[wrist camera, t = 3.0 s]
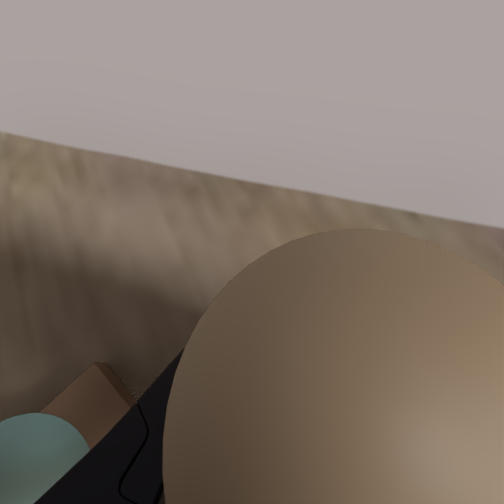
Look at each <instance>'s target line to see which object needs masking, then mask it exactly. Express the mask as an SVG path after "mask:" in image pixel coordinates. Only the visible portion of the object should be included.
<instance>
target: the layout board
mask: <svg viewBox="0 0 504 504" xmlns="http://www.w3.org/2000/svg"><path fill="white" fill-rule="evenodd" d="M135 403H137V400H136V399H135V398H134V397H133V396H132V394H131V393H130V392H129V391H128V389H127V388H126V387H125V386H124V385H123V383H122V382H121V381H120V380H119V379H118V377H117V376H116V375H115V374H114V373H113V371H112V370H111V369H110V368H109V366H108V365H107V364H106V363H96V362H94V363H92V364H91V365H90V366H89V367H88V368H87V369H86V370H85V371H84V372H83V373H82V374H81V375H79V376H78V377H77V378H76V379H75V380H74V381H73V382H72V383H71V384H70V385H69V386H67V387H66V388H65V389H64V390H63V391H62V392H61V393H60V394H59V395H58V396H57V397H56V398H54V399H53V400H52V401H51V402H50V403H49V404H48V405H47V406H46V407H45V408H44V409H42V410H41V411H40V412H39V413H38V412H37V413H27V414H22V415H18V416H14V417H11V418H9V419H6V420H3V421H1V422H0V504H34V503H35V502H36V501H37V500H38V499H39V498H40V497H41V496H42V495H43V494H44V493H45V492H46V491H47V490H49V489H50V488H51V487H52V486H53V485H54V484H55V483H56V482H57V481H58V480H59V479H60V478H61V477H62V476H63V475H64V474H66V473H67V472H68V471H69V470H70V469H71V468H72V467H73V466H74V465H75V464H76V463H77V462H78V461H79V460H80V459H82V458H83V457H84V456H85V455H86V454H87V453H88V452H89V451H90V450H91V449H92V448H93V447H94V446H95V445H96V444H97V443H98V442H99V441H100V440H101V439H102V438H103V437H104V436H105V435H106V434H107V433H108V432H109V431H110V430H111V429H112V428H113V427H114V426H115V425H116V423H117V422H118V421H119V420H120V419H121V418H122V417H123V416H124V415H125V414H126V413H127V412H128V410H129V409H130V408H131V407H132V406H133V405H134V404H135Z"/></svg>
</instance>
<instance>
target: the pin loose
mask: <svg viewBox="0 0 504 504" xmlns="http://www.w3.org/2000/svg"><path fill="white" fill-rule="evenodd" d="M162 473H163V484H164V494H165V504H504V285H503V284H501V283H500V282H499V281H498V280H497V279H495V278H494V277H493V276H491V275H490V274H488V273H487V272H485V271H484V270H482V269H481V268H479V267H478V266H476V265H475V264H473V263H472V262H470V261H468V260H466V259H465V258H463V257H461V256H459V255H457V254H455V253H453V252H452V251H450V250H447V249H445V248H443V247H440V246H438V245H435V244H433V243H430V242H428V241H425V240H422V239H418V238H415V237H412V236H408V235H405V234H400V233H394V232H388V231H383V230H371V229H345V230H332V231H327V232H322V233H317V234H312V235H309V236H306V237H303V238H299V239H296V240H293V241H290V242H288V243H286V244H284V245H282V246H280V247H278V248H276V249H274V250H271V251H269V252H268V253H266V254H265V255H263V256H262V257H260V258H259V259H257V260H256V261H254V262H252V263H251V264H249V265H248V266H247V267H246V268H245V269H244V270H242V271H241V272H240V273H239V274H238V275H237V276H235V277H234V278H233V279H232V280H231V281H230V282H229V283H228V284H227V285H226V286H225V287H224V288H223V290H222V291H221V292H220V293H219V294H218V295H217V296H216V297H215V298H214V300H213V301H212V303H211V304H210V305H209V307H208V308H207V310H206V311H205V313H204V314H203V315H202V317H201V318H200V320H199V321H198V323H197V325H196V327H195V329H194V331H193V333H192V335H191V336H190V338H189V340H188V342H187V344H186V346H185V349H184V351H183V354H182V357H181V359H180V362H179V364H178V367H177V370H176V372H175V376H174V380H173V384H172V388H171V392H170V396H169V400H168V404H167V411H166V418H165V426H164V434H163V470H162Z"/></svg>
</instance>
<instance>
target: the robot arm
mask: <svg viewBox="0 0 504 504" xmlns="http://www.w3.org/2000/svg"><path fill="white" fill-rule="evenodd" d="M184 349H185V348H184ZM184 349H183V350H182V351H181V352H180V353H179V354H178V355H177V357H176V358H175V359H174V360H173V361H172V362H171V363H170V364H169V366H168V367H167V368H166V369H165V370H164V371H163V372H162V373H161V375H160V376H159V377H158V378H157V379H156V380H155V381H154V382H153V384H152V385H151V386H150V387H149V388H148V389H147V390H146V391H145V393H144V394H143V395H142V396H141V397H140V398H139V399H138V400H137V403H135V404H134V405H133V406H132V407H131V408H130V409H129V410H128V412H127V413H126V414H125V415H124V416H123V417H122V418H121V419H120V420H119V421H118V422H117V423H116V425H115V426H114V427H113V428H112V429H111V430H110V431H109V432H108V433H107V434H106V435H105V436H104V437H103V438H102V439H101V440H100V441H99V442H98V443H97V444H96V445H95V446H94V447H93V448H92V449H91V450H90V451H89V452H88V453H87V454H86V455H85V456H84V457H83V458H82V459H80V460H79V461H78V462H77V463H76V464H75V465H74V466H73V467H72V468H71V469H70V470H69V471H68V472H67V473H66V474H64V475H63V476H62V477H61V478H60V479H59V480H58V481H57V482H56V483H55V484H54V485H53V486H52V487H51V488H50V489H49V490H47V491H46V492H45V493H44V494H43V495H42V496H41V497H40V498H39V499H38V500H37V501H36V502H35V503H34V504H165V494H164V484H163V473H162V470H163V434H164V426H165V418H166V411H167V404H168V400H169V396H170V392H171V388H172V384H173V380H174V376H175V372H176V370H177V367H178V364H179V362H180V359H181V357H182V354H183V351H184Z"/></svg>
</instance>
